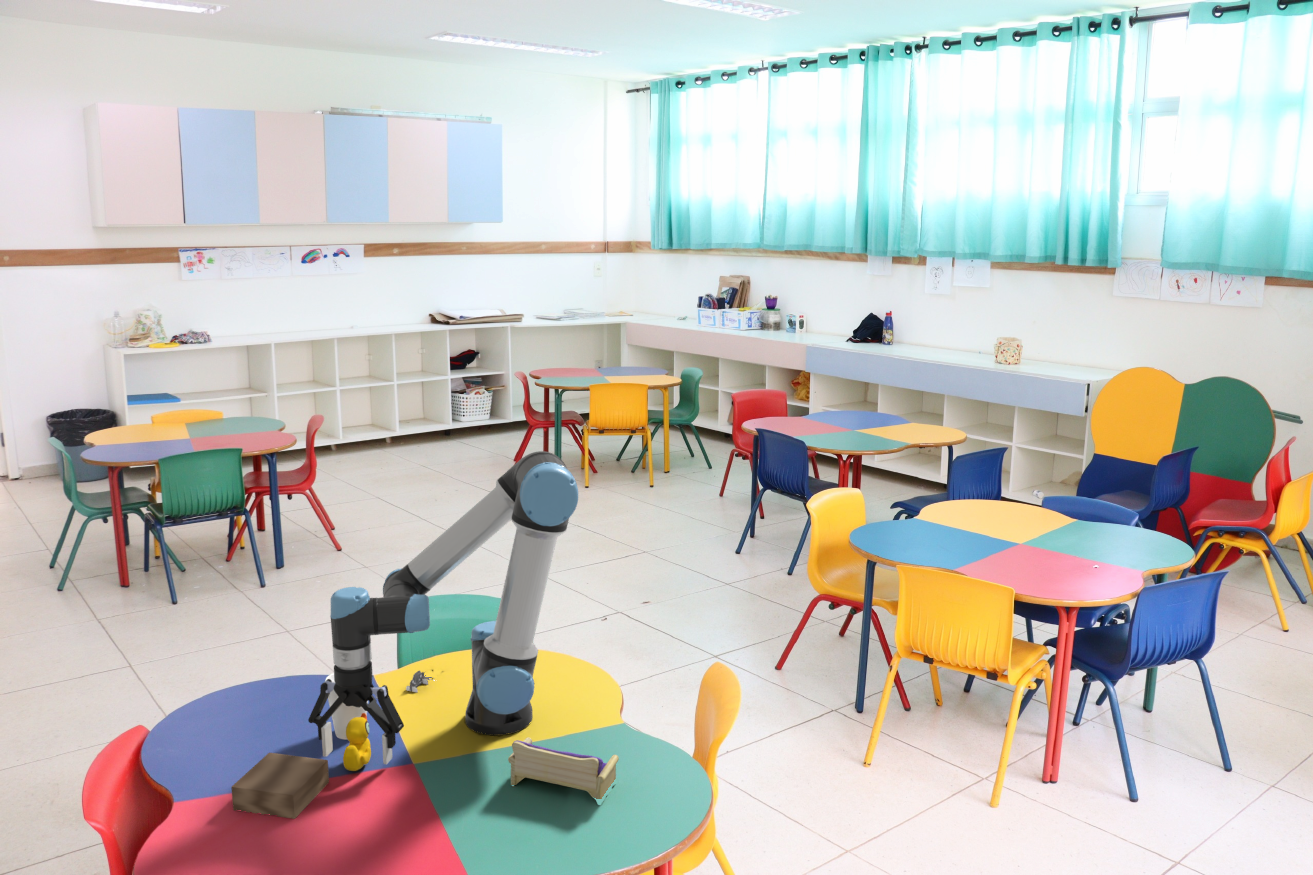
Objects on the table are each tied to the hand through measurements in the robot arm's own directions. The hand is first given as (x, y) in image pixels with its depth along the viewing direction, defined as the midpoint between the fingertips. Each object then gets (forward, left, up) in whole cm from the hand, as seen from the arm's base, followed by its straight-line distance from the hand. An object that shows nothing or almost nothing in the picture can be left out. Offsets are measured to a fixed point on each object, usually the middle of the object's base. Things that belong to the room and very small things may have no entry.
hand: (357, 757), depth 213 cm
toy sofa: (-44, -2, -2) cm, 44 cm away
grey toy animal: (+2, -40, -2) cm, 40 cm away
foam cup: (+8, -12, -2) cm, 15 cm away
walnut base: (+9, +14, -2) cm, 17 cm away
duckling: (0, 0, -2) cm, 2 cm away
